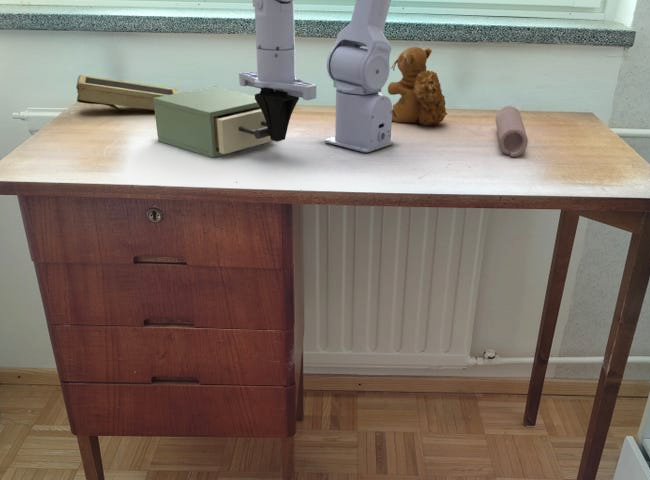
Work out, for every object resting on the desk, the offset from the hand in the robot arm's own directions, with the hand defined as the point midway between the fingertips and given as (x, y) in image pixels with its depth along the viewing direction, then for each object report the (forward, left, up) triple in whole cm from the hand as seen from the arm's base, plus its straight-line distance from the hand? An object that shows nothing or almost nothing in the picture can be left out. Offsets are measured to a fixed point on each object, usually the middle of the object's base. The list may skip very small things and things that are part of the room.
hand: (278, 139), depth 110 cm
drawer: (+10, 0, -2) cm, 10 cm away
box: (+42, -4, -3) cm, 42 cm away
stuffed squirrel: (-2, -37, -3) cm, 38 cm away
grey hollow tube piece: (-22, -36, -3) cm, 43 cm away
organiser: (+15, 0, -3) cm, 16 cm away
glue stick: (+12, 0, -1) cm, 12 cm away
